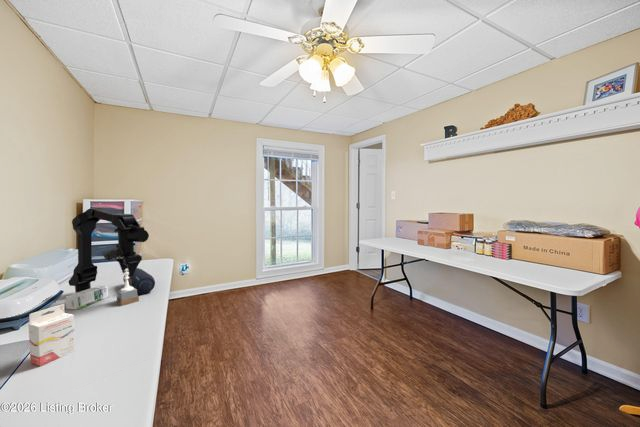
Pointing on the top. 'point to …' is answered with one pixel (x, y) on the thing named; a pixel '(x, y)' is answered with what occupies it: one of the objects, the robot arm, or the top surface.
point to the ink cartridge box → (50, 335)
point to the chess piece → (126, 283)
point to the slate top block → (127, 294)
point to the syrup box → (86, 297)
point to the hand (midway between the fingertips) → (127, 274)
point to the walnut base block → (127, 300)
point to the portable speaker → (141, 281)
